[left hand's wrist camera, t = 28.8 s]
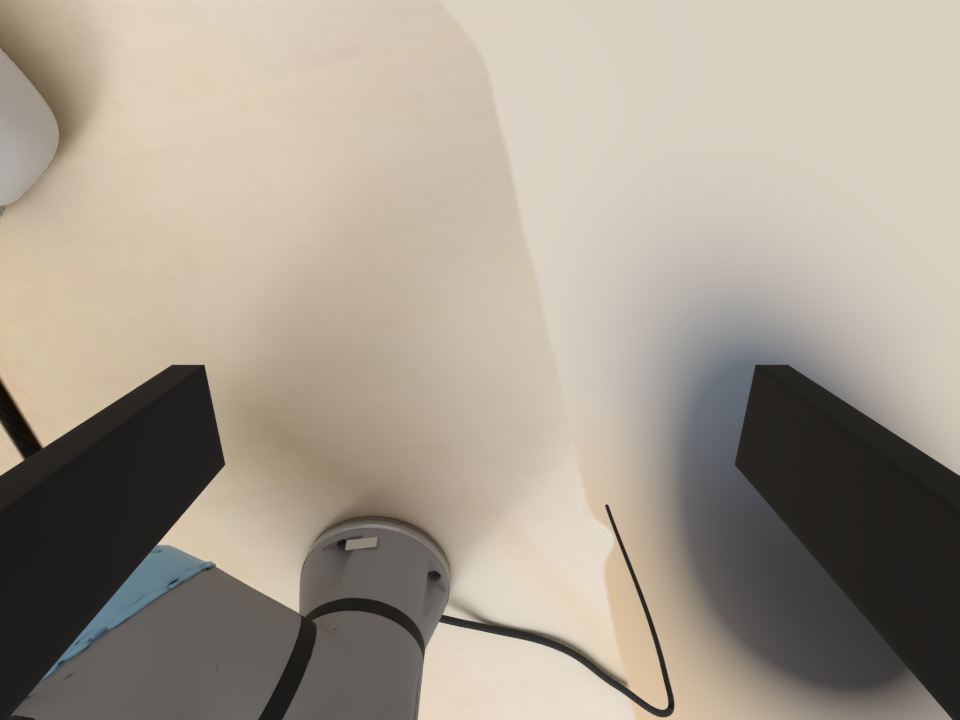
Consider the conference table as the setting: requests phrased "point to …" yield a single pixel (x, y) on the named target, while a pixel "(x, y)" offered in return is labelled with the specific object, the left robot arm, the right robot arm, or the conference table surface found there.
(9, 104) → the projector
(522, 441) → the conference table surface
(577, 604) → the conference table surface
